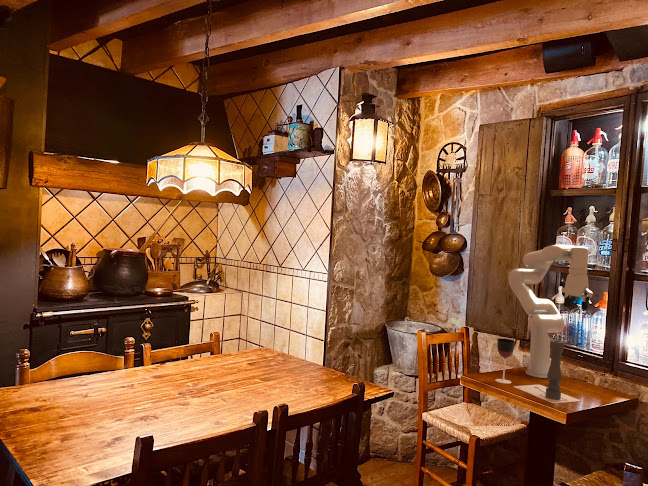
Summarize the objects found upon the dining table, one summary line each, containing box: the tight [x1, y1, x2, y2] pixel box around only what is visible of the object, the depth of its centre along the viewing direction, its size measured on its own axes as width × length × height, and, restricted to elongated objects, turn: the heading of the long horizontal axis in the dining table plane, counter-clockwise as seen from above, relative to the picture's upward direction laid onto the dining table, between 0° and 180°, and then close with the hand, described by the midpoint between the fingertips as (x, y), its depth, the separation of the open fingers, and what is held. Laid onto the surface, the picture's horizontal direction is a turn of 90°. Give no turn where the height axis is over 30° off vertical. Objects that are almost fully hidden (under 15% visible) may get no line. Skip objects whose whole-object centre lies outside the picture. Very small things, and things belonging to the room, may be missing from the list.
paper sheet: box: [513, 384, 582, 404], centre depth 232 cm, size 24×16×1 cm, turn 22°
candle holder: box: [545, 339, 565, 400], centre depth 225 cm, size 6×6×25 cm
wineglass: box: [495, 338, 516, 384], centre depth 249 cm, size 8×9×20 cm
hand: (575, 308), depth 243 cm, fingers open, 9 cm apart
